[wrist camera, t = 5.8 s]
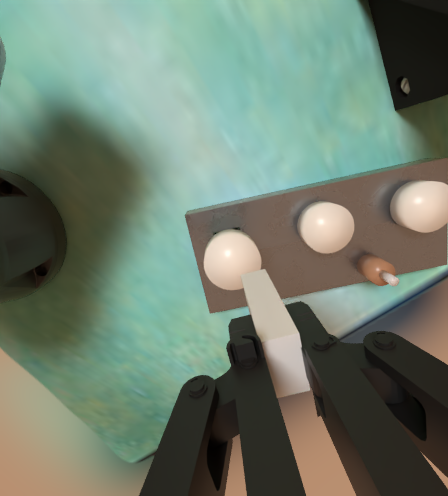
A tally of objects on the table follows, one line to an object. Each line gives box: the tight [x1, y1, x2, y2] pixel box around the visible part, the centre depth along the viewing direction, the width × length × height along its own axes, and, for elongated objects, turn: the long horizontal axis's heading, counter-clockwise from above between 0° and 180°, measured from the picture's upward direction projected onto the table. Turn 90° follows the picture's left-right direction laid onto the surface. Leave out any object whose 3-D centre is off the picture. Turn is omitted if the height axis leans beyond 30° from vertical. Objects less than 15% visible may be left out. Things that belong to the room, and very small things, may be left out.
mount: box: [185, 158, 448, 313], centre depth 33 cm, size 28×12×3 cm, turn 102°
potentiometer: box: [357, 254, 399, 286], centre depth 30 cm, size 3×3×5 cm
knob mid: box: [297, 201, 354, 253], centre depth 31 cm, size 5×5×6 cm
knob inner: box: [204, 229, 261, 290], centre depth 27 cm, size 5×5×6 cm
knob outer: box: [390, 180, 448, 233], centre depth 30 cm, size 5×5×6 cm
